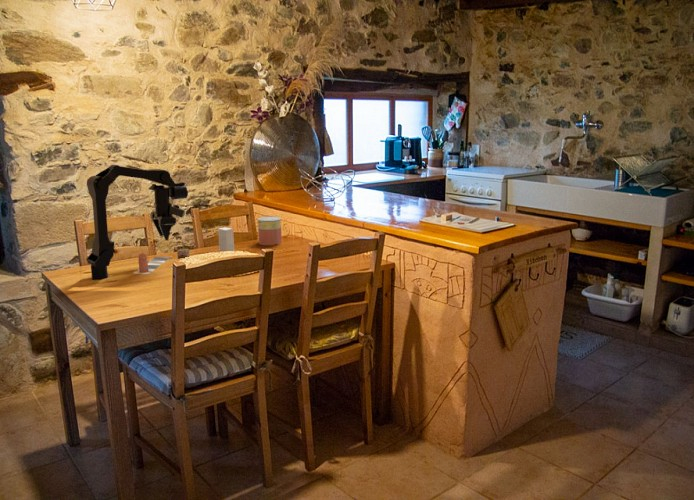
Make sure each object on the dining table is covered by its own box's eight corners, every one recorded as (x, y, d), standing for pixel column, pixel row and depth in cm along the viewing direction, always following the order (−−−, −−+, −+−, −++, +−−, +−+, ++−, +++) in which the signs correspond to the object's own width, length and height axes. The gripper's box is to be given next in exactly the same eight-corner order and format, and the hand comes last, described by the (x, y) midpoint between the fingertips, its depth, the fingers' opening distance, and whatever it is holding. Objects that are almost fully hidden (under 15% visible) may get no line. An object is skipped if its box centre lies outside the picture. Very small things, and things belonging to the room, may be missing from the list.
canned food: (261, 239, 287) (260, 216, 285) (284, 240, 286) (283, 216, 283) (256, 245, 277) (255, 220, 274) (279, 245, 275) (278, 220, 273)
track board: (150, 276, 225) (150, 274, 224) (131, 276, 225) (130, 274, 224) (172, 259, 251) (172, 256, 250) (154, 259, 251) (154, 256, 251)
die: (187, 260, 250) (186, 250, 249) (177, 259, 250) (177, 250, 249) (190, 257, 254) (189, 248, 253) (180, 257, 254) (180, 248, 253)
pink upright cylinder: (146, 272, 226) (145, 254, 224) (138, 272, 226) (136, 254, 225) (149, 270, 230) (148, 252, 228) (141, 270, 230) (139, 252, 228)
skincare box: (235, 254, 258) (233, 228, 255) (227, 256, 255) (225, 230, 252) (227, 252, 262) (225, 227, 259) (219, 254, 259) (217, 228, 256)
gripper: (188, 202, 229) (189, 240, 232) (176, 196, 245) (178, 232, 248) (159, 203, 223) (161, 243, 227) (149, 198, 239) (151, 234, 243)
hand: (164, 238), depth 236 cm, fingers open, 9 cm apart
